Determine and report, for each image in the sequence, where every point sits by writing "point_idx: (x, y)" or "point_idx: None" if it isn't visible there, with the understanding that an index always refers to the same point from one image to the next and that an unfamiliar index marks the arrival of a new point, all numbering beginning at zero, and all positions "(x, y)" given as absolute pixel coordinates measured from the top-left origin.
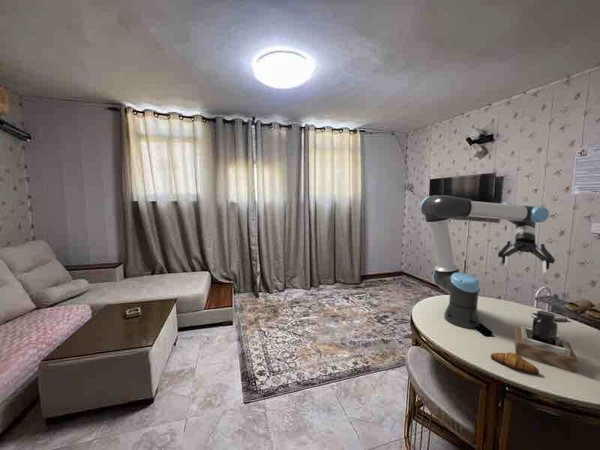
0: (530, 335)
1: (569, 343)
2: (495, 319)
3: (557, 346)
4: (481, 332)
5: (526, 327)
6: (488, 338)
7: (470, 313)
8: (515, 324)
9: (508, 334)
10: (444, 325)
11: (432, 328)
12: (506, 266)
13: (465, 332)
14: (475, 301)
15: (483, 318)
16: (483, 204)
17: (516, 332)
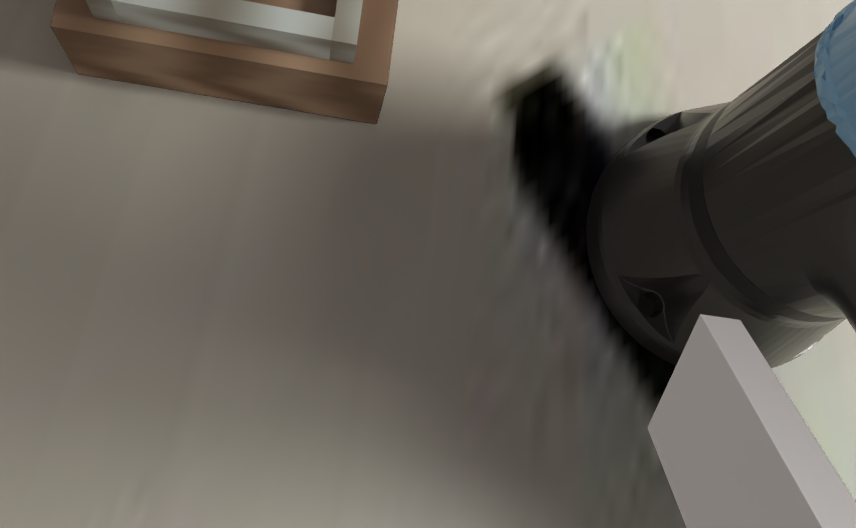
0: (305, 3)
1: (57, 3)
2: (463, 456)
3: None
4: (576, 112)
5: (324, 33)
6: (537, 41)
7: (712, 109)
8: (314, 439)
9: (403, 183)
10: None
11: None
12: (714, 327)
13: (670, 54)
14: (749, 95)
15: (556, 413)
16: None
17: (393, 6)
